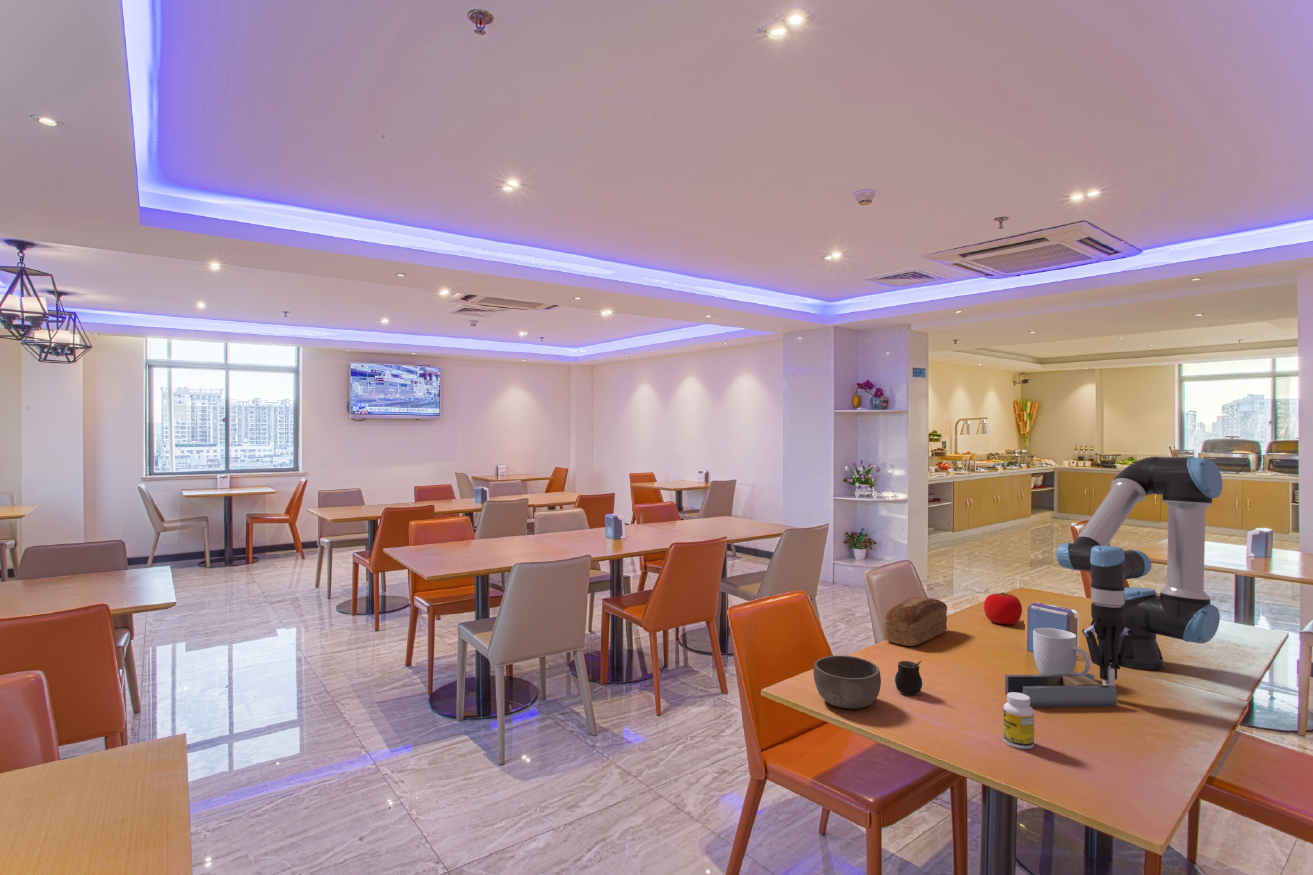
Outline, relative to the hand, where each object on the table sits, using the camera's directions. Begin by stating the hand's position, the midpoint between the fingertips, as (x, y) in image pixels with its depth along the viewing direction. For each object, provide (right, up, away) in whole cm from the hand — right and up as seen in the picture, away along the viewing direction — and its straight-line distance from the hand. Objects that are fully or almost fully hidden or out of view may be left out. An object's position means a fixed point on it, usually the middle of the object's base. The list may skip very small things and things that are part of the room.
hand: (1108, 691), depth 177 cm
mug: (-4, -2, +16) cm, 16 cm away
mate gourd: (-52, -3, +5) cm, 52 cm away
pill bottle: (-39, -2, -26) cm, 46 cm away
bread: (-29, -3, +57) cm, 64 cm away
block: (-7, -2, 0) cm, 8 cm away
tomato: (+11, -3, +75) cm, 75 cm away
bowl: (-71, -3, -1) cm, 71 cm away
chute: (-13, -2, 0) cm, 14 cm away
